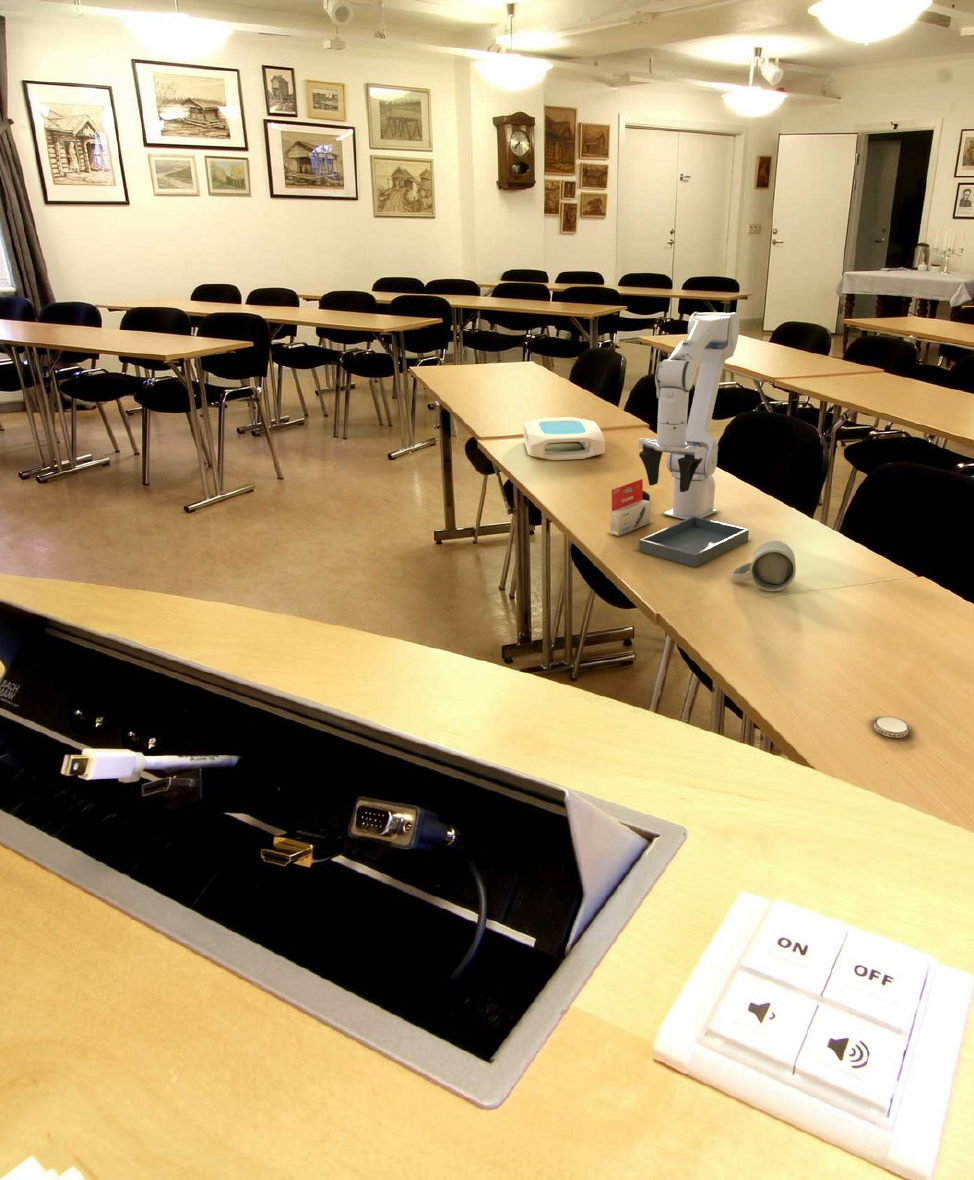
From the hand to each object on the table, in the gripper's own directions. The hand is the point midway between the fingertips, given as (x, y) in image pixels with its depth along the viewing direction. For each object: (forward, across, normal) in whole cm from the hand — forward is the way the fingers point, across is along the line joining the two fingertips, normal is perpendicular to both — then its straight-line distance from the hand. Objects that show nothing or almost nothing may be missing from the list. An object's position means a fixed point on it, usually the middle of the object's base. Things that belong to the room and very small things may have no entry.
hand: (668, 487), depth 172 cm
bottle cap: (+11, +64, -41) cm, 77 cm away
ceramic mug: (+11, +28, -10) cm, 31 cm away
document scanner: (+10, -67, +43) cm, 80 cm away
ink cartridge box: (+11, -8, -1) cm, 14 cm away
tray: (+10, +8, -2) cm, 13 cm away
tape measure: (+10, -18, +13) cm, 24 cm away
